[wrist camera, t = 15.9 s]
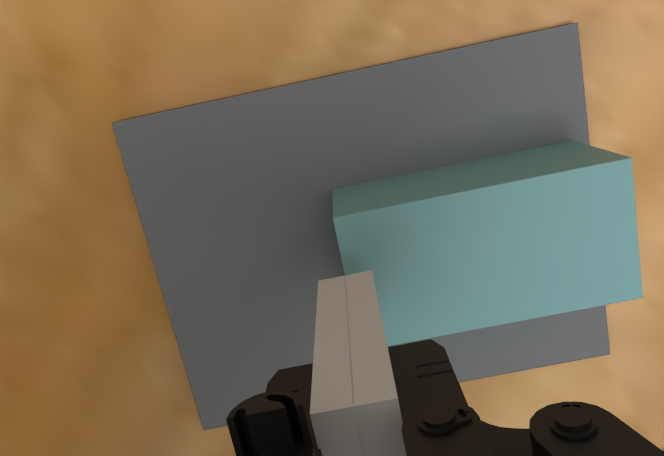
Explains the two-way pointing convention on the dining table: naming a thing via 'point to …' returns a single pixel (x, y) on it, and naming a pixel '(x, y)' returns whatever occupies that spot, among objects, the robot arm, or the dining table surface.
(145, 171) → the mat
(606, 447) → the robot arm
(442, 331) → the block
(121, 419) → the dining table surface
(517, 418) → the dining table surface
